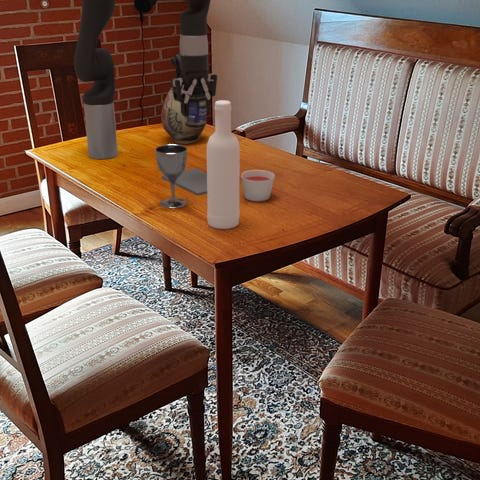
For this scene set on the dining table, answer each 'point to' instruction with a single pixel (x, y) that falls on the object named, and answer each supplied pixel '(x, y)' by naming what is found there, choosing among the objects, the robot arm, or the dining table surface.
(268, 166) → the dining table surface
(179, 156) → the wine glass
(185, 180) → the place mat
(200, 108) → the pill bottle
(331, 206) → the dining table surface
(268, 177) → the candle
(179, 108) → the ceramic jug
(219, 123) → the bottle
